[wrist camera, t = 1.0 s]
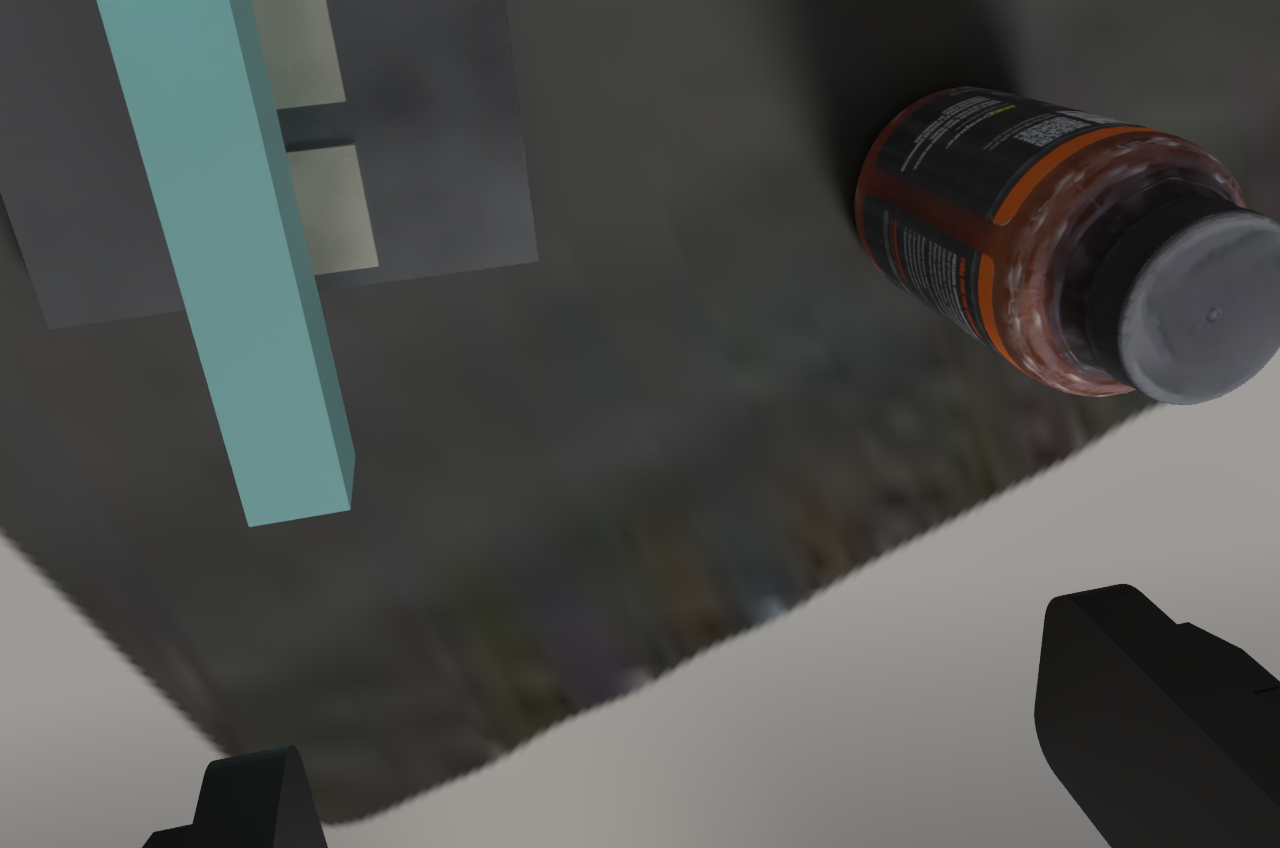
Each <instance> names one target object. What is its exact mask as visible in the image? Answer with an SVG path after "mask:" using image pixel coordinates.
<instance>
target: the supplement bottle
mask: <svg viewBox="0 0 1280 848" xmlns="http://www.w3.org/2000/svg"><path fill="white" fill-rule="evenodd" d="M854 207H855V220H856V226H857V230H858V234H859V238H860V240H861V243H862V246H863V248H864V249H865V252H866V253H867V255H868V257H869V259H870V260H871V262H872V263H873V265H874V266H875V267H876V268H877V269H878V270H879V271H880V272H881V273H882V274H883V275H885V276H886V277H887V278H888V279H889V280H890V281H891V282H892V283H894V284H895V285H896V286H897V287H899V288H900V289H902V290H904V291H905V292H907V293H908V294H910V295H911V296H913V297H914V298H915V299H916V300H918V301H919V302H921V303H923V304H924V305H926V306H927V307H929V308H930V309H932V310H933V311H934V312H936V313H937V314H939V315H940V316H942V317H944V318H945V319H946V320H947V321H949V322H950V323H952V324H953V325H955V326H956V327H958V328H959V329H960V330H962V331H963V332H965V333H966V334H968V335H969V336H971V337H972V338H974V339H976V340H977V341H979V342H980V343H981V344H983V345H984V346H985V347H986V348H988V349H990V350H992V351H993V352H994V353H996V354H998V355H999V356H1000V357H1001V358H1002V359H1003V360H1005V361H1007V362H1009V363H1010V364H1012V365H1013V366H1015V367H1016V368H1018V369H1020V370H1021V371H1023V372H1025V373H1026V374H1027V375H1029V376H1031V377H1032V378H1034V379H1036V380H1037V381H1039V382H1041V383H1043V384H1045V385H1047V386H1049V387H1051V388H1054V389H1058V390H1061V391H1063V392H1066V393H1071V394H1076V395H1082V396H1097V397H1102V396H1110V395H1117V394H1121V393H1128V392H1130V391H1133V390H1138V391H1139V392H1141V393H1142V394H1144V395H1146V396H1148V397H1151V398H1153V399H1155V400H1158V401H1161V402H1164V403H1169V404H1178V405H1192V404H1198V403H1202V402H1206V401H1209V400H1212V399H1216V398H1219V397H1221V396H1223V395H1225V394H1226V393H1229V392H1231V391H1233V390H1234V389H1236V388H1238V387H1239V386H1241V385H1242V384H1244V383H1245V382H1247V381H1248V380H1249V379H1251V378H1252V377H1254V376H1255V375H1256V374H1257V373H1258V372H1259V371H1260V370H1261V369H1262V368H1263V367H1264V366H1265V365H1266V364H1267V362H1268V361H1269V360H1270V359H1271V358H1272V357H1273V356H1274V354H1275V353H1276V352H1277V350H1278V349H1279V348H1280V224H1279V223H1278V222H1277V221H1275V220H1273V219H1271V218H1270V217H1268V216H1266V215H1264V214H1261V213H1259V212H1256V211H1253V210H1249V209H1247V206H1246V203H1245V200H1244V197H1243V195H1242V193H1241V189H1240V187H1239V186H1238V184H1237V182H1236V180H1235V178H1234V177H1233V176H1232V174H1231V173H1230V172H1229V171H1228V169H1227V168H1226V167H1225V166H1224V165H1223V164H1222V163H1221V162H1220V161H1219V160H1218V158H1217V157H1216V156H1215V155H1213V154H1212V153H1210V152H1208V151H1206V150H1205V149H1204V148H1203V147H1200V146H1198V145H1196V144H1194V143H1192V142H1190V141H1187V140H1185V139H1182V138H1180V137H1178V136H1175V135H1171V134H1168V133H1164V132H1161V131H1157V130H1155V129H1150V128H1146V127H1143V126H1140V125H1135V124H1130V123H1125V122H1121V121H1117V120H1113V119H1110V118H1106V117H1102V116H1097V115H1094V114H1090V113H1087V112H1083V111H1080V110H1074V109H1071V108H1067V107H1062V106H1058V105H1054V104H1050V103H1046V102H1042V101H1038V100H1034V99H1031V98H1026V97H1022V96H1018V95H1014V94H1010V93H1007V92H1003V91H999V90H994V89H984V88H979V87H970V86H962V87H957V88H951V89H945V90H942V91H939V92H935V93H932V94H929V95H928V96H926V97H923V98H921V99H919V100H917V101H916V102H914V103H913V104H911V105H910V106H908V107H907V108H905V109H904V110H903V111H901V112H900V113H899V114H898V115H897V116H896V117H895V118H894V119H893V120H891V121H890V122H889V123H888V125H887V126H885V128H884V129H883V130H882V132H881V133H880V134H879V136H878V137H877V139H876V140H875V141H874V143H873V145H872V147H871V148H870V150H869V152H868V154H867V156H866V159H865V161H864V164H863V166H862V169H861V172H860V175H859V178H858V182H857V187H856V192H855V199H854Z"/></svg>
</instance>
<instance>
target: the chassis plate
mask: <svg viewBox="0 0 1280 848" xmlns="http://www.w3.org/2000/svg"><path fill="white" fill-rule="evenodd" d="M251 2H252V6H253V10H254V15H255V19H256V24H257V28H258V32H259V37H260V41H261V45H262V50H263V54H264V58H265V63H266V67H267V72H268V76H269V80H270V85H271V89H272V93H273V98H274V102H275V107H276V111H277V115H278V120H279V124H280V128H281V133H282V137H283V142H284V146H285V150H286V155H287V159H288V163H289V168H290V172H291V176H292V181H293V185H294V190H295V194H296V198H297V203H298V207H299V211H300V216H301V220H302V225H303V229H304V233H305V238H306V242H307V246H308V251H309V255H310V260H311V264H312V268H313V273H314V277H315V281H316V286H317V290H318V292H322V291H329V290H336V289H343V288H350V287H358V286H365V285H372V284H379V283H386V282H393V281H401V280H408V279H415V278H422V277H429V276H436V275H444V274H451V273H458V272H465V271H472V270H479V269H487V268H494V267H501V266H508V265H515V264H523V263H530V262H537V261H539V259H538V251H537V243H536V235H535V228H534V220H533V212H532V204H531V197H530V189H529V181H528V173H527V166H526V158H525V150H524V142H523V135H522V127H521V119H520V111H519V104H518V96H517V88H516V80H515V73H514V65H513V57H512V49H511V42H510V34H509V26H508V18H507V11H506V3H505V0H251ZM0 193H1V196H2V199H3V201H4V204H5V207H6V210H7V213H8V216H9V218H10V221H11V224H12V227H13V230H14V233H15V235H16V238H17V241H18V244H19V247H20V250H21V252H22V255H23V258H24V261H25V264H26V266H27V269H28V272H29V275H30V278H31V281H32V283H33V286H34V289H35V292H36V295H37V298H38V300H39V303H40V306H41V309H42V312H43V314H44V317H45V320H46V323H47V326H48V329H56V328H64V327H71V326H78V325H85V324H92V323H99V322H107V321H114V320H121V319H128V318H135V317H142V316H150V315H157V314H164V313H171V312H178V311H185V310H186V308H185V304H184V301H183V297H182V294H181V291H180V287H179V284H178V280H177V277H176V273H175V270H174V266H173V263H172V259H171V256H170V253H169V249H168V246H167V242H166V239H165V235H164V232H163V228H162V225H161V221H160V218H159V215H158V211H157V208H156V204H155V201H154V197H153V194H152V190H151V187H150V183H149V180H148V177H147V173H146V170H145V166H144V163H143V159H142V156H141V152H140V149H139V145H138V142H137V139H136V135H135V132H134V128H133V125H132V121H131V118H130V114H129V111H128V107H127V104H126V101H125V97H124V94H123V90H122V87H121V83H120V80H119V76H118V73H117V69H116V66H115V63H114V59H113V56H112V52H111V49H110V45H109V42H108V38H107V35H106V31H105V28H104V25H103V21H102V18H101V14H100V11H99V7H98V4H97V0H0Z"/></svg>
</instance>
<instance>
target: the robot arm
mask: <svg viewBox="0 0 1280 848" xmlns="http://www.w3.org/2000/svg"><path fill="white" fill-rule="evenodd" d="M1034 718H1035V727H1036V732H1037V736H1038V740H1039V743H1040V746H1041V749H1042V751H1043V754H1044V756H1045V758H1046V760H1047V762H1048V764H1049V766H1050V767H1051V769H1052V771H1053V772H1054V774H1055V775H1056V776H1057V778H1058V779H1059V780H1060V781H1061V783H1062V784H1063V785H1064V786H1065V788H1066V789H1067V791H1068V792H1069V793H1070V794H1071V796H1072V797H1073V798H1074V800H1075V801H1076V802H1077V804H1078V805H1079V806H1080V807H1081V808H1082V810H1083V811H1084V813H1085V814H1086V815H1087V816H1088V818H1089V819H1090V820H1091V822H1092V823H1093V824H1094V826H1095V827H1096V828H1097V830H1098V831H1099V832H1100V833H1101V835H1102V836H1103V837H1104V839H1105V840H1106V841H1107V842H1108V844H1109V845H1110V846H1111V847H1112V848H1280V681H1279V680H1277V679H1276V678H1275V677H1274V676H1273V675H1271V674H1270V673H1269V672H1268V671H1267V670H1266V669H1264V668H1263V667H1262V666H1261V665H1260V664H1259V663H1257V662H1256V661H1255V660H1254V659H1253V658H1251V656H1249V655H1248V654H1247V653H1246V652H1245V651H1244V650H1242V649H1241V648H1239V647H1237V646H1235V645H1233V644H1230V643H1229V642H1227V641H1225V640H1223V639H1221V638H1219V637H1217V636H1214V635H1213V634H1211V633H1209V632H1207V631H1205V630H1203V629H1201V628H1199V627H1197V626H1195V625H1193V624H1191V623H1189V622H1187V623H1182V624H1176V623H1175V622H1174V621H1173V620H1171V619H1170V618H1169V617H1168V616H1167V615H1166V614H1165V613H1164V612H1163V611H1161V610H1160V609H1159V608H1158V607H1157V606H1156V605H1155V604H1154V603H1153V602H1152V601H1150V600H1149V599H1148V598H1147V597H1146V596H1145V595H1144V594H1143V593H1142V592H1140V591H1139V590H1138V589H1136V588H1135V587H1133V586H1131V585H1127V584H1118V585H1113V586H1108V587H1103V588H1098V589H1093V590H1087V591H1082V592H1077V593H1072V594H1067V595H1062V596H1058V597H1055V598H1053V599H1052V600H1051V601H1050V603H1049V604H1048V606H1047V609H1046V613H1045V620H1044V629H1043V637H1042V647H1041V655H1040V664H1039V673H1038V682H1037V691H1036V700H1035V710H1034ZM142 848H328V847H327V843H326V840H325V836H324V833H323V830H322V826H321V823H320V819H319V816H318V813H317V809H316V806H315V802H314V799H313V796H312V792H311V789H310V785H309V782H308V779H307V775H306V772H305V768H304V765H303V762H302V759H301V756H300V754H299V751H298V750H297V748H296V747H295V746H293V745H291V746H286V747H280V748H275V749H270V750H265V751H260V752H255V753H250V754H245V755H240V756H235V757H230V758H225V759H220V760H215V761H212V762H210V763H209V765H208V767H207V769H206V771H205V774H204V778H203V782H202V786H201V790H200V795H199V800H198V803H197V807H196V812H195V816H194V820H193V824H191V825H186V826H181V827H176V828H171V829H166V830H162V831H157V832H153V834H152V835H151V836H150V838H149V839H148V840H147V842H146V843H145V844H144V846H143V847H142Z"/></svg>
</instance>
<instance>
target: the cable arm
mask: <svg viewBox="0 0 1280 848" xmlns="http://www.w3.org/2000/svg"><path fill="white" fill-rule="evenodd" d="M97 4H98V7H99V11H100V14H101V18H102V21H103V25H104V28H105V31H106V35H107V38H108V42H109V45H110V49H111V52H112V56H113V59H114V63H115V66H116V69H117V73H118V76H119V80H120V83H121V87H122V90H123V94H124V97H125V101H126V104H127V107H128V111H129V114H130V118H131V121H132V125H133V128H134V132H135V135H136V139H137V142H138V145H139V149H140V152H141V156H142V159H143V163H144V166H145V170H146V173H147V177H148V180H149V183H150V187H151V190H152V194H153V197H154V201H155V204H156V208H157V211H158V215H159V218H160V221H161V225H162V228H163V232H164V235H165V239H166V242H167V246H168V249H169V253H170V256H171V259H172V263H173V266H174V270H175V273H176V277H177V280H178V284H179V287H180V291H181V294H182V297H183V301H184V304H185V308H186V311H187V315H188V318H189V322H190V325H191V329H192V332H193V335H194V339H195V342H196V346H197V349H198V353H199V356H200V360H201V363H202V367H203V370H204V373H205V377H206V380H207V384H208V387H209V391H210V394H211V398H212V401H213V404H214V408H215V411H216V415H217V418H218V422H219V425H220V429H221V432H222V436H223V439H224V442H225V446H226V449H227V453H228V456H229V460H230V463H231V467H232V470H233V474H234V477H235V480H236V484H237V487H238V491H239V494H240V498H241V501H242V505H243V508H244V512H245V515H246V518H247V522H248V525H249V527H252V526H258V525H264V524H270V523H276V522H282V521H288V520H293V519H299V518H305V517H311V516H317V515H323V514H329V513H335V512H341V511H346V510H350V507H351V496H352V486H353V475H354V464H355V452H354V447H353V443H352V439H351V434H350V430H349V426H348V421H347V417H346V413H345V408H344V404H343V399H342V395H341V391H340V386H339V382H338V378H337V373H336V369H335V364H334V360H333V356H332V351H331V347H330V343H329V338H328V334H327V329H326V325H325V321H324V316H323V312H322V308H321V303H320V299H319V295H318V290H317V286H316V281H315V277H314V273H313V268H312V264H311V260H310V255H309V251H308V246H307V242H306V238H305V233H304V229H303V225H302V220H301V216H300V211H299V207H298V203H297V198H296V194H295V190H294V185H293V181H292V176H291V172H290V168H289V163H288V159H287V155H286V150H285V146H284V142H283V137H282V133H281V128H280V124H279V120H278V115H277V111H276V107H275V102H274V98H273V93H272V89H271V85H270V80H269V76H268V72H267V67H266V63H265V58H264V54H263V50H262V45H261V41H260V37H259V32H258V28H257V24H256V19H255V15H254V10H253V6H252V2H251V0H97Z"/></svg>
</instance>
